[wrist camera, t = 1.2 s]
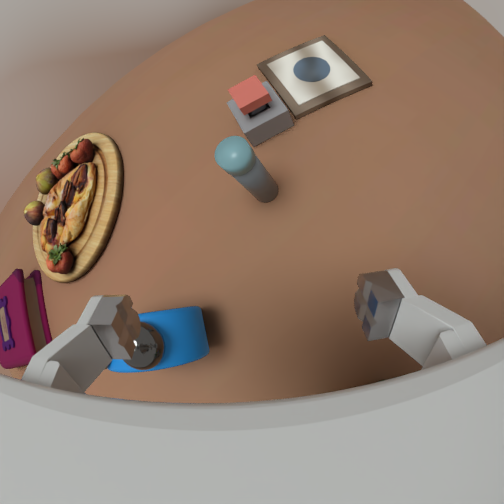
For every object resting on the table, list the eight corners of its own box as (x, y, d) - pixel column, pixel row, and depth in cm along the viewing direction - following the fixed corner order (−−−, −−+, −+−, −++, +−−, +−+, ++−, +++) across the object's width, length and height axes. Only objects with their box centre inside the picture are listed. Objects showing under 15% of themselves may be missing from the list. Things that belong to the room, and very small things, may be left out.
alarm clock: (218, 302, 37) (145, 311, 23) (227, 348, 36) (160, 380, 22) (143, 316, 40) (65, 324, 26) (151, 355, 39) (76, 376, 25)
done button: (263, 91, 34) (255, 74, 31) (276, 109, 33) (268, 93, 30) (238, 104, 35) (227, 89, 32) (249, 123, 34) (239, 108, 31)
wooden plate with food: (121, 282, 43) (84, 279, 35) (35, 283, 52) (8, 280, 44) (137, 115, 48) (111, 95, 40) (50, 159, 57) (27, 149, 49)
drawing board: (325, 39, 36) (324, 33, 35) (372, 85, 33) (372, 80, 32) (258, 68, 39) (256, 63, 38) (296, 119, 36) (294, 114, 35)
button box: (273, 96, 38) (266, 80, 34) (294, 125, 36) (288, 110, 32) (236, 116, 39) (226, 102, 35) (253, 146, 38) (244, 133, 34)
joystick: (272, 174, 36) (240, 129, 25) (283, 195, 36) (254, 156, 24) (249, 186, 37) (209, 147, 26) (260, 207, 36) (222, 175, 25)
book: (58, 358, 48) (32, 362, 41) (19, 367, 55) (-1, 369, 48) (41, 268, 52) (15, 266, 45) (6, 298, 59) (-14, 297, 52)
